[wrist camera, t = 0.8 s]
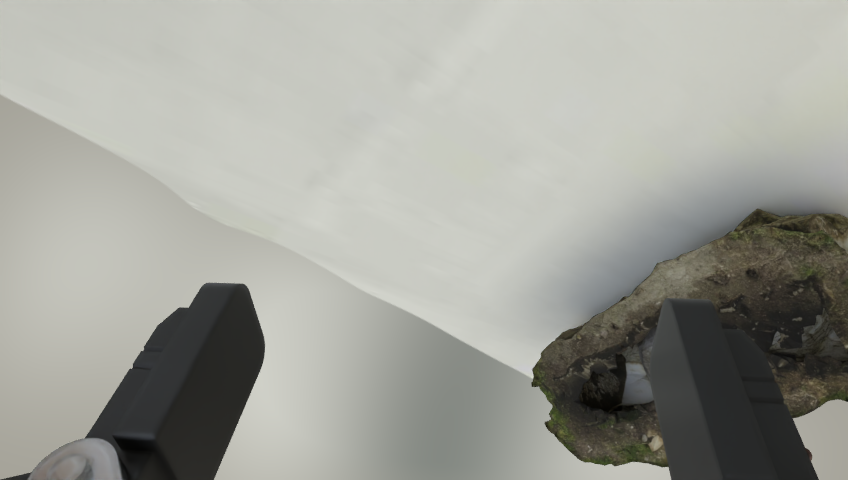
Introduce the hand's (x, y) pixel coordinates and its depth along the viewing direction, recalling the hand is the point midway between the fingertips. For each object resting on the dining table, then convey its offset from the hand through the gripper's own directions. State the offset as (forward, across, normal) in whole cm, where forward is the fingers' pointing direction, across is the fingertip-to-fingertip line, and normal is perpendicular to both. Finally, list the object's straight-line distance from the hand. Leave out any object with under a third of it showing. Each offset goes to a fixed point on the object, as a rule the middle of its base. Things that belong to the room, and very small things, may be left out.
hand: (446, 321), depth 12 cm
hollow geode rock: (+31, -14, +25) cm, 42 cm away
